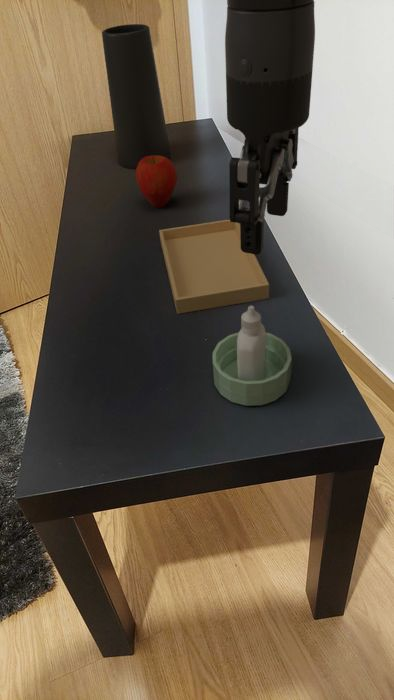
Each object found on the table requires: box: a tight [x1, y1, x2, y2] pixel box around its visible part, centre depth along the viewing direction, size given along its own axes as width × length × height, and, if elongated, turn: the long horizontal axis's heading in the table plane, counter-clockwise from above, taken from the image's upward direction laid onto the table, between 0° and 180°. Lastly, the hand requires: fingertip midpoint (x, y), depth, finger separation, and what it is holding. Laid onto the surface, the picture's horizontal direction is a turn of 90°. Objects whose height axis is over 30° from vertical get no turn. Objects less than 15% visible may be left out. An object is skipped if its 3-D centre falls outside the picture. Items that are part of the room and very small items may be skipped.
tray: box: [158, 218, 270, 315], centre depth 90 cm, size 23×15×3 cm, turn 10°
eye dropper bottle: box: [237, 305, 267, 381], centre depth 65 cm, size 4×6×12 cm
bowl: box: [212, 331, 293, 407], centre depth 68 cm, size 10×10×4 cm
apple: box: [135, 155, 178, 209], centre depth 107 cm, size 9×8×11 cm
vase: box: [101, 23, 172, 170], centre depth 122 cm, size 14×14×29 cm
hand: (265, 231), depth 55 cm, fingers open, 8 cm apart
